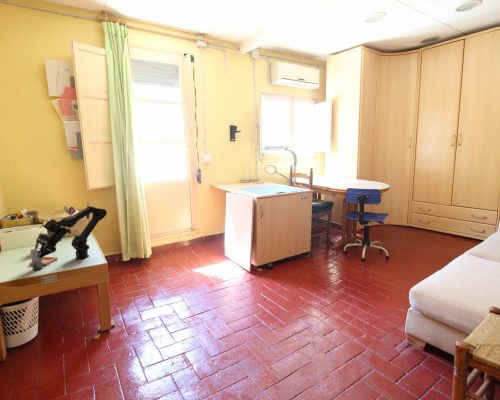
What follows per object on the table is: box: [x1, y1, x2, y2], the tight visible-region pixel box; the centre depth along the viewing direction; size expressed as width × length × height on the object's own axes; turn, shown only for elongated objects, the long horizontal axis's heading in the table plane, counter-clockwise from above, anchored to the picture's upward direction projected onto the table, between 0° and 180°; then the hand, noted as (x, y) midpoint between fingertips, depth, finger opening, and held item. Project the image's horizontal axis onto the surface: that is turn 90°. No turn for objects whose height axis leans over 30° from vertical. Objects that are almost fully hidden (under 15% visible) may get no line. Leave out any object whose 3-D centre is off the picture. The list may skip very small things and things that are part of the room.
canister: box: [30, 247, 44, 272], centre depth 184 cm, size 5×5×13 cm
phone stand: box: [34, 236, 43, 249], centre depth 211 cm, size 9×6×12 cm, turn 118°
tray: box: [28, 256, 59, 267], centre depth 195 cm, size 11×11×2 cm
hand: (38, 255), depth 184 cm, fingers open, 9 cm apart
